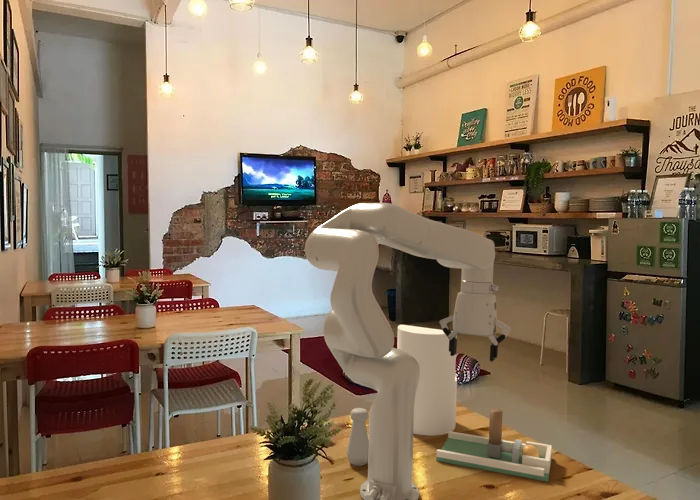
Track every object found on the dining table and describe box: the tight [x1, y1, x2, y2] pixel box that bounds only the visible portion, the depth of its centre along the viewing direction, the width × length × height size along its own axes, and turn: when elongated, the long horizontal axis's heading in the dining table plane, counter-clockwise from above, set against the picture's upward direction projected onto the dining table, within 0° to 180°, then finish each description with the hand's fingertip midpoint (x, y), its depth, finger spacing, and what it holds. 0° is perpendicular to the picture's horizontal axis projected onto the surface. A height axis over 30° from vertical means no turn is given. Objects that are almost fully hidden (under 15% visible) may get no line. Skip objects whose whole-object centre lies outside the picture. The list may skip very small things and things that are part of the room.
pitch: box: [435, 431, 553, 483], centre depth 140 cm, size 14×26×4 cm, turn 67°
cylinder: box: [396, 324, 458, 436], centre depth 163 cm, size 17×17×28 cm
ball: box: [522, 445, 539, 457], centre depth 137 cm, size 4×4×4 cm
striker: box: [487, 408, 523, 463], centre depth 139 cm, size 6×8×11 cm
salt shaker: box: [346, 407, 369, 467], centre depth 137 cm, size 6×6×13 cm
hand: (472, 357), depth 139 cm, fingers open, 9 cm apart
